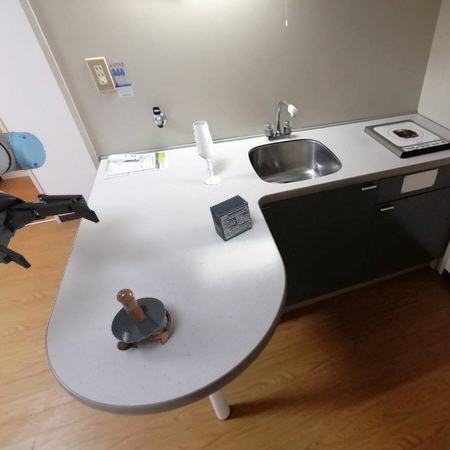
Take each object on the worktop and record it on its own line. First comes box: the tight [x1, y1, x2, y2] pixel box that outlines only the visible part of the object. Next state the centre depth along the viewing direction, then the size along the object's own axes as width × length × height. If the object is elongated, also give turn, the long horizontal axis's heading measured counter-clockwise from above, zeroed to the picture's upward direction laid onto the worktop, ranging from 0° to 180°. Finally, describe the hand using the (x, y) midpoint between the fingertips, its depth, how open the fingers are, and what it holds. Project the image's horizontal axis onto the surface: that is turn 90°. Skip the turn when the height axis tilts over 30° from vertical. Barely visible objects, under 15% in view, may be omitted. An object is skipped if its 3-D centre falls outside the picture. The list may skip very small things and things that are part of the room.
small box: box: [209, 194, 253, 242], centre depth 98 cm, size 11×6×10 cm, turn 130°
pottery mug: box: [116, 309, 173, 352], centre depth 70 cm, size 12×10×8 cm
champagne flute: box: [192, 120, 222, 186], centre depth 117 cm, size 7×7×24 cm
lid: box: [110, 287, 167, 343], centre depth 64 cm, size 11×11×10 cm
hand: (63, 237), depth 57 cm, fingers open, 13 cm apart
